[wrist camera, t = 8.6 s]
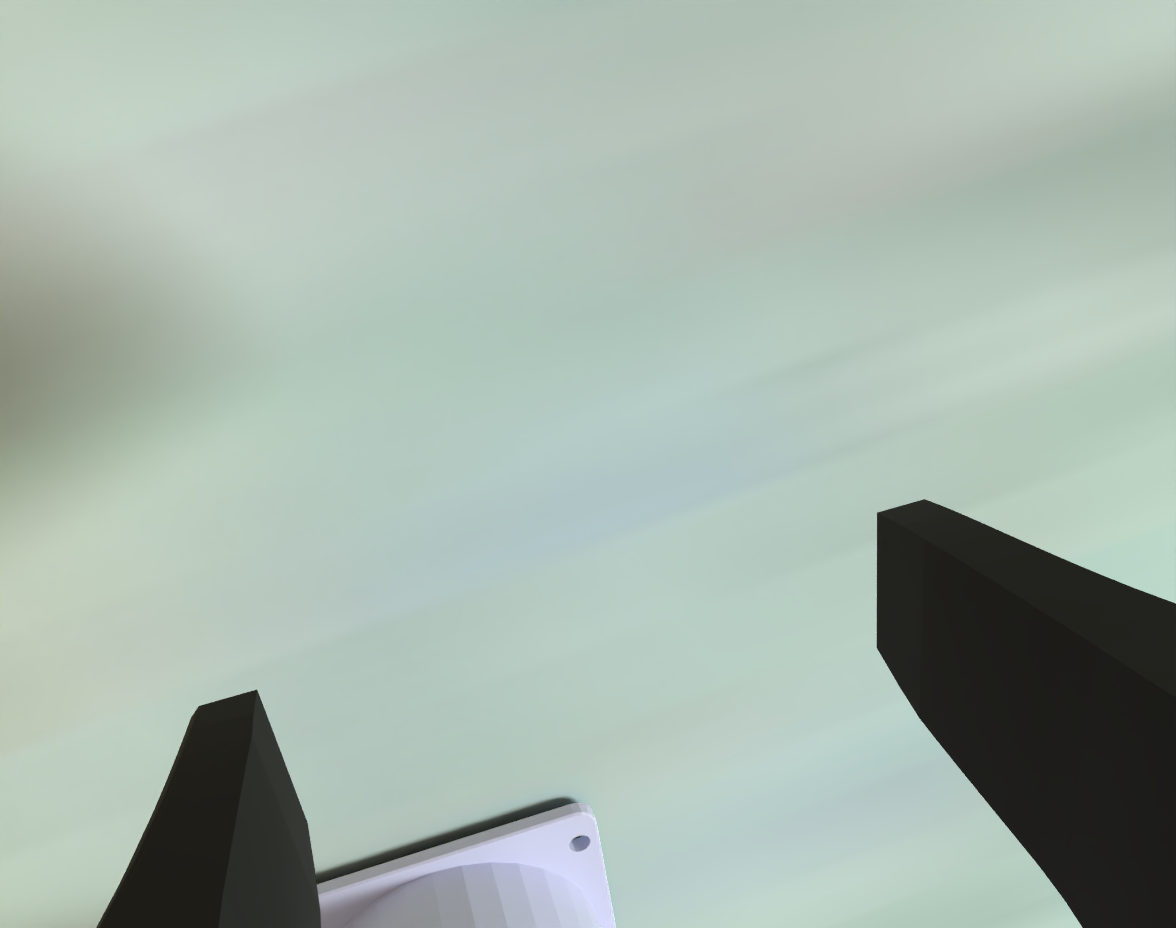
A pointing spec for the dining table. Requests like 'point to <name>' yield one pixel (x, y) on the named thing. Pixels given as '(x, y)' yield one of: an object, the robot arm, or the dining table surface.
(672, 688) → the dining table surface
